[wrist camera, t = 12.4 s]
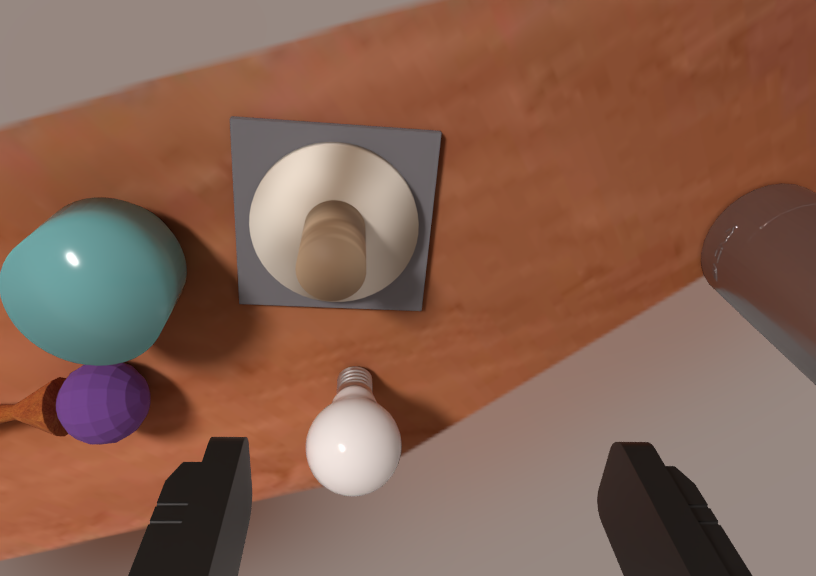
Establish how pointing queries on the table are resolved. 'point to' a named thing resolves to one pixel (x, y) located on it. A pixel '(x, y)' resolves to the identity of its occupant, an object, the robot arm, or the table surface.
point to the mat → (273, 139)
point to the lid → (334, 222)
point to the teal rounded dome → (94, 281)
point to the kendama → (87, 404)
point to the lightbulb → (353, 439)
